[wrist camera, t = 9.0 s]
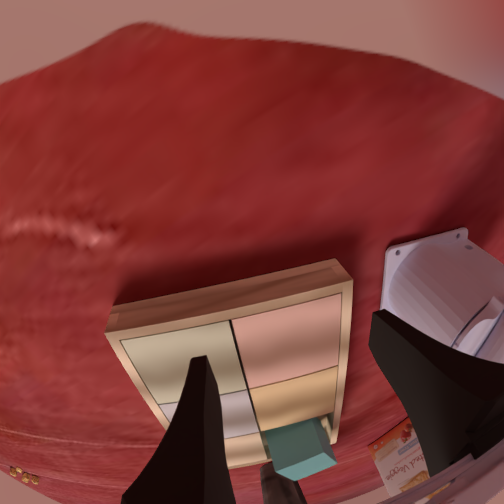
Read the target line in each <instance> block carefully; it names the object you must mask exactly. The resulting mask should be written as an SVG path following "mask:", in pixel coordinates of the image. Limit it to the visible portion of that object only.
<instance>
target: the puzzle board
mask: <svg viewBox="0 0 504 504" xmlns="http://www.w3.org/2000/svg"><path fill="white" fill-rule="evenodd" d="M352 295H353V279H352V278H351V276H350V275H349V274H348V273H347V272H346V270H345V269H344V268H343V267H342V266H341V264H340V263H339V262H338V261H337V260H336V258H334V259H330V260H325V261H321V262H317V263H313V264H308V265H304V266H300V267H295V268H291V269H287V270H282V271H278V272H273V273H269V274H264V275H260V276H256V277H251V278H246V279H242V280H237V281H233V282H228V283H223V284H219V285H214V286H209V287H205V288H200V289H195V290H190V291H186V292H181V293H176V294H171V295H166V296H161V297H156V298H151V299H146V300H141V301H136V302H131V303H126V304H121V305H116V306H112V309H111V313H110V316H109V319H108V323H107V326H106V330H105V335H106V337H107V339H108V341H109V342H110V344H111V346H112V348H113V349H114V351H115V353H116V355H117V356H118V358H119V360H120V362H121V363H122V365H123V367H124V368H125V370H126V371H127V373H128V375H129V376H130V378H131V380H132V381H133V383H134V384H135V386H136V387H137V389H138V390H139V392H140V393H141V395H142V397H143V398H144V400H145V401H146V402H147V404H148V405H149V407H150V408H151V410H152V411H153V413H154V414H155V415H156V417H157V418H158V420H159V421H160V422H161V424H162V425H163V427H164V428H165V429H166V431H167V429H168V427H169V425H170V422H171V420H172V418H173V415H174V413H175V410H176V408H177V405H178V402H179V399H180V396H181V393H182V390H183V387H184V384H185V380H186V377H187V373H188V368H189V364H190V360H191V358H193V357H198V356H203V355H207V357H208V360H209V363H210V366H211V368H212V371H213V374H214V376H215V379H216V382H217V384H218V389H219V394H220V400H221V405H222V417H223V431H224V444H225V454H226V461H227V466H228V469H233V468H239V467H244V466H250V465H255V464H260V463H264V462H269V461H272V458H271V454H270V450H269V447H268V443H267V439H266V435H265V431H264V430H269V429H273V428H277V427H281V426H285V425H289V424H293V423H297V422H300V421H304V420H307V419H311V418H314V417H318V419H319V420H320V421H321V423H322V425H323V428H324V430H325V433H326V435H327V438H328V441H329V443H330V445H331V444H334V443H336V441H337V435H338V429H339V423H340V416H341V410H342V403H343V395H344V387H345V379H346V370H347V361H348V351H349V340H350V327H351V313H352Z"/></svg>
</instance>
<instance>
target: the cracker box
mask: <svg viewBox="0 0 504 504" xmlns="http://www.w3.org/2000/svg"><path fill="white" fill-rule="evenodd" d="M368 448H369V451H370V453H371V455H372V458H373V460H374V462H375V464H376V466H377V468H378V471H379V473H380V475H381V477H382V480H383V482H384V484H385V487H386V489H387V491H388V493H389V496H390V498H391V497H393V496H396V495H398V494H400V493H402V492H404V491H406V490H408V489H410V488H412V487H414V486H416V485H418V484H420V483H422V482H423V481H425V480H427V479H429V478H430V476H429V473H428V469H427V465H426V462H425V459H424V455H423V452H422V449H421V446H420V443H419V441H418V438H417V435H416V433H415V430H414V428H413V426H412V423H411V421H410V419H409V417H408V418H407V419H405V420H404V421H403V422H401V423H400V424H399V425H397V426H396V427H395V428H393V429H392V430H391V431H389V432H388V433H386V434H385V435H383V436H382V437H381V438H379V439H378V440H376V441H375V442H373V443H372V444H370V445H369V446H368ZM450 483H451V482H450ZM450 483H449V484H450ZM449 484H447V485H446V486H444V487H442V488H441V489H439V490H437V491H435V492H434V493H432V494H430V495H428V496H427V497H425V498H423V499H421V500H419V501H417V502H415V503H413V504H424V503H426V502H427V501H428V500H430V499H431V498H432V497H433V496H434V495H435V494H437V493H439V492H440V491H442V490H443V489H445V488H446V487H448V486H449Z"/></svg>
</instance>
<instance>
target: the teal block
mask: <svg viewBox="0 0 504 504" xmlns="http://www.w3.org/2000/svg"><path fill="white" fill-rule="evenodd" d="M264 431H265V435H266V439H267V443H268V447H269V450H270V454H271V458H272V462H273V466H274V469H275V472H277V473H279V474H281V475H283V476H285V477H287V478H289V479H291V480H293V481H296V480H299V479H301V478H304V477H307V476H309V475H312V474H314V473H317V472H319V471H321V470H324V469H326V468H329V467H331V466H333V465H335V464H338V463H337V461H336V458H335V456H334V453H333V451H332V448H331V446H330V443H329V441H328V438H327V435H326V433H325V430H324V428H323V425H322V423H321V421H320V420H319V419H318V417H314V418H311V419H307V420H304V421H300V422H297V423H293V424H289V425H285V426H281V427H277V428H273V429H269V430H264Z"/></svg>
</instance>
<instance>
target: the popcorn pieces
mask: <svg viewBox="0 0 504 504" xmlns="http://www.w3.org/2000/svg"><path fill="white" fill-rule="evenodd" d="M16 468H17V469H14V468H11V469H10V474H11V475H13V476H16V475H17V472H20V473H22V469H21V468H19V467H16ZM22 480H23V481H24V482H27V483H28V481H29V480H30V474H28V473H26V472H25V473H24V474H23V476H22ZM32 482H33V483H35V484H38V483H39V478H38V477H36V476H32Z"/></svg>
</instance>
